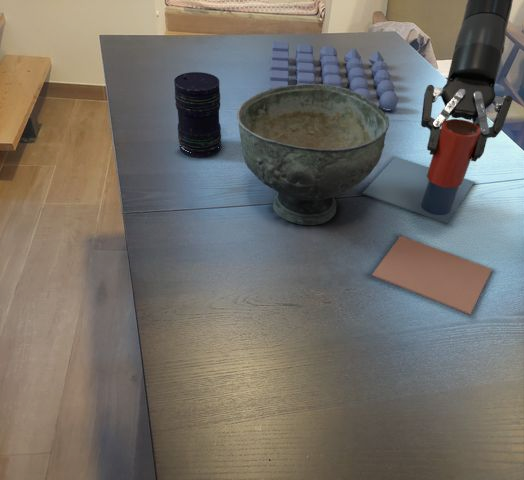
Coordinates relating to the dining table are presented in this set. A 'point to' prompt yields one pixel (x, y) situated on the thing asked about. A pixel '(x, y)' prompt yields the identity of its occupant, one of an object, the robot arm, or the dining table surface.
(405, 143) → the dining table surface
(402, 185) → the blue mat
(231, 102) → the dining table surface
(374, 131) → the decorative bowl
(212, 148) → the storage jar
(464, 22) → the robot arm
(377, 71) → the blocks
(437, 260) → the rose mat
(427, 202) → the blue pot
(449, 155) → the red pot
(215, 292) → the dining table surface
